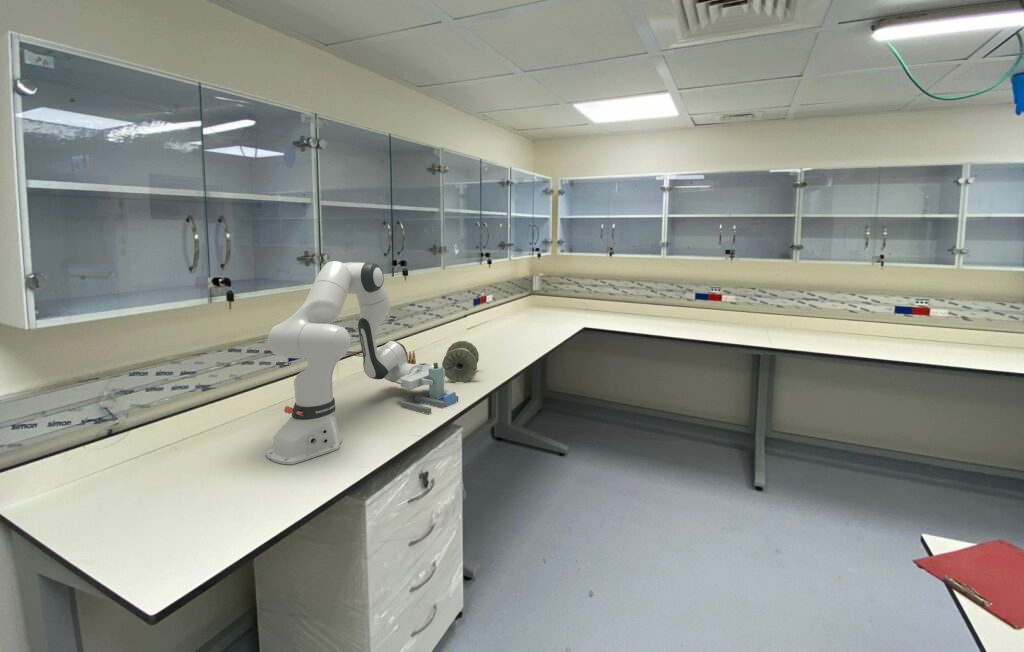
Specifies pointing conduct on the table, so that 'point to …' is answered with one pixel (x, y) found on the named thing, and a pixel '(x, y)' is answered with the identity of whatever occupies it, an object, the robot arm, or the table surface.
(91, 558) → the table surface
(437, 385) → the capped teal pillar
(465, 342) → the spool
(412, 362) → the ammunition clip
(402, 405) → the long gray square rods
